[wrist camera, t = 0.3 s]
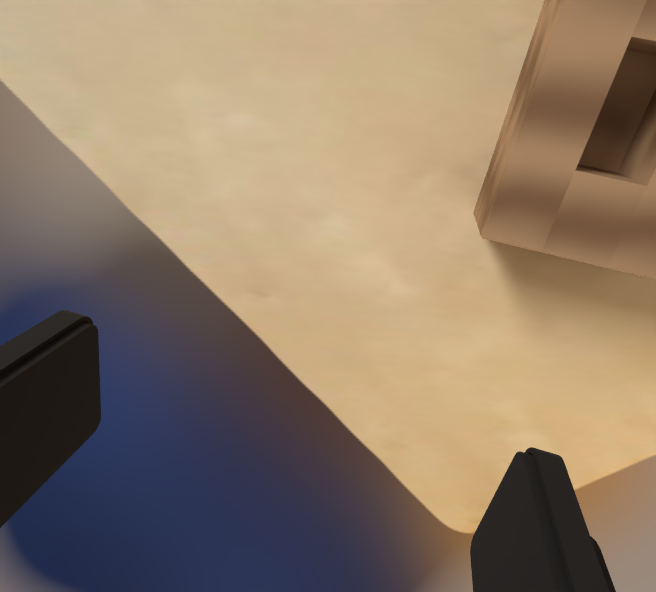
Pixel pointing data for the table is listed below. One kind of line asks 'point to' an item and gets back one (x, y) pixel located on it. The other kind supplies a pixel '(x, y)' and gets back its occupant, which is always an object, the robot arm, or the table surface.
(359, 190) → the table surface
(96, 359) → the robot arm
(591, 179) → the tan slotted block
